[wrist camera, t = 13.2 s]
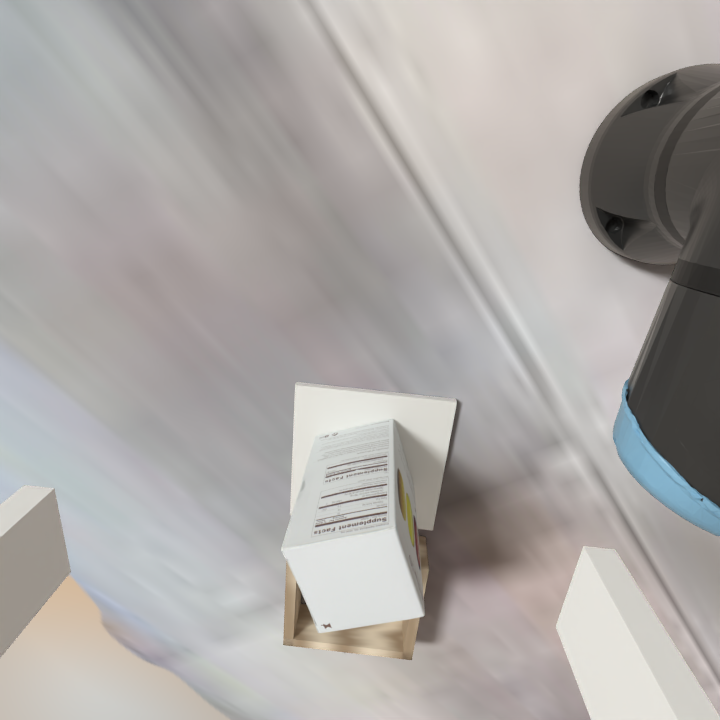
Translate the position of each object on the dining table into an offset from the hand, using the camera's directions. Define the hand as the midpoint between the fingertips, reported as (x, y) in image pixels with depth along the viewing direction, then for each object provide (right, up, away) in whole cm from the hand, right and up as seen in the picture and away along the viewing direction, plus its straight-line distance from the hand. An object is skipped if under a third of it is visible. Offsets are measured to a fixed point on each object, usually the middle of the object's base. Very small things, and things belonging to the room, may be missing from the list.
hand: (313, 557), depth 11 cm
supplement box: (+2, -6, +39) cm, 40 cm away
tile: (+2, -6, +40) cm, 40 cm away
